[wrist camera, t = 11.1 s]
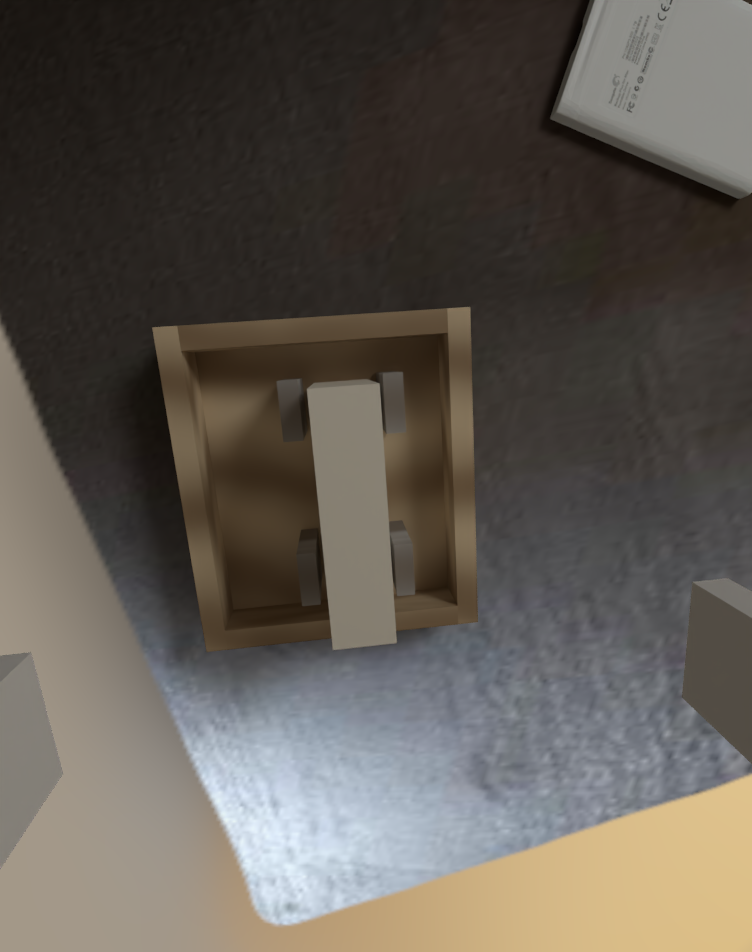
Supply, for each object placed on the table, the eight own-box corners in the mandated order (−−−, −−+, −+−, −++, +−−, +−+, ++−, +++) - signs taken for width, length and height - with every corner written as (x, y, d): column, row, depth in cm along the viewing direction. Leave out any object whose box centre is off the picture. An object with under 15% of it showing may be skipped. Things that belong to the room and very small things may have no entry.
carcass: (174, 332, 27) (140, 324, 22) (453, 314, 28) (478, 303, 23) (220, 621, 31) (199, 667, 26) (462, 595, 32) (485, 635, 28)
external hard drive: (730, 203, 29) (544, 124, 27) (793, 52, 27) (600, -43, 26) (753, 193, 27) (558, 109, 26) (821, 33, 26) (618, -70, 24)
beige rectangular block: (314, 382, 28) (306, 388, 20) (366, 379, 28) (379, 383, 20) (332, 577, 30) (332, 650, 22) (380, 572, 30) (396, 643, 23)
